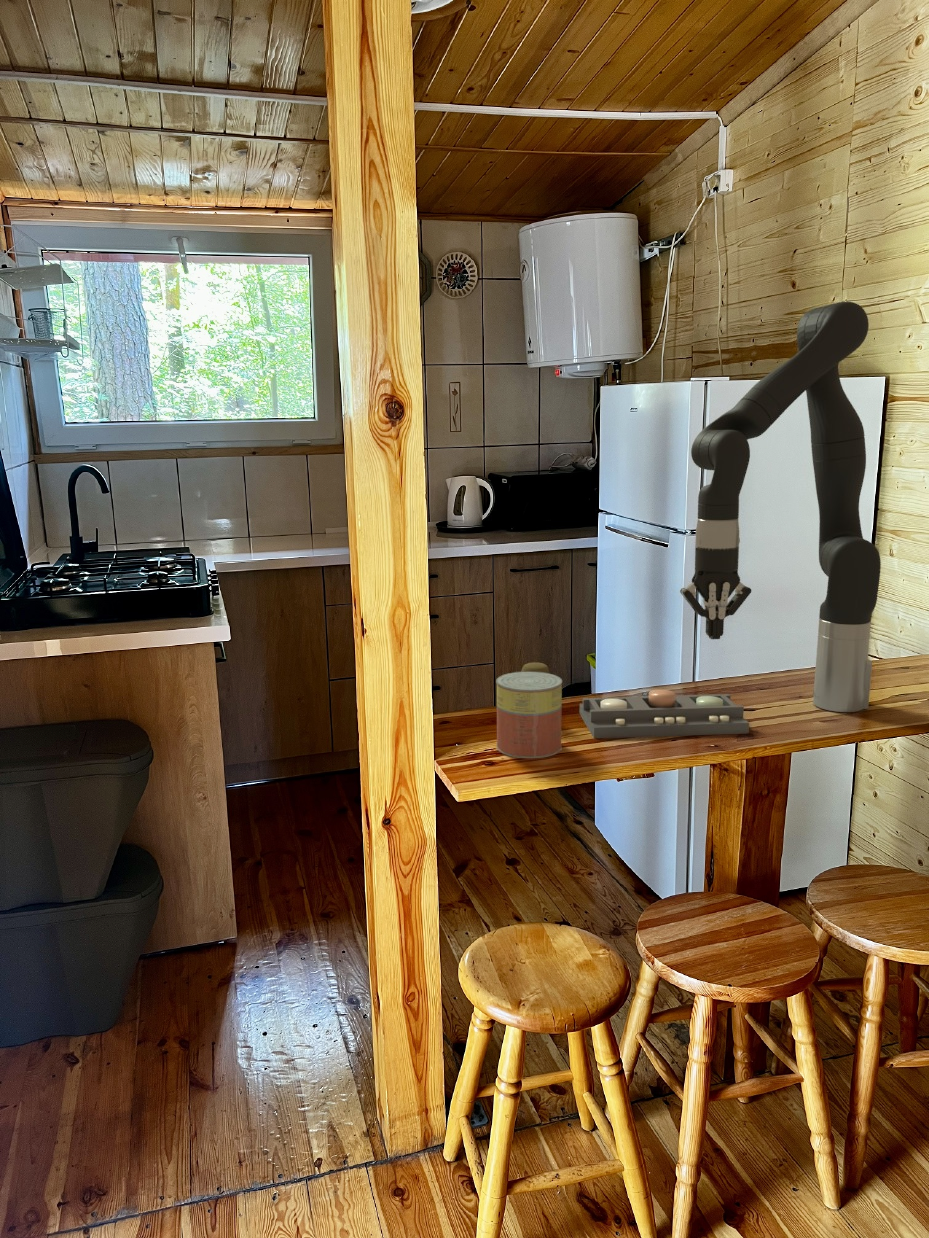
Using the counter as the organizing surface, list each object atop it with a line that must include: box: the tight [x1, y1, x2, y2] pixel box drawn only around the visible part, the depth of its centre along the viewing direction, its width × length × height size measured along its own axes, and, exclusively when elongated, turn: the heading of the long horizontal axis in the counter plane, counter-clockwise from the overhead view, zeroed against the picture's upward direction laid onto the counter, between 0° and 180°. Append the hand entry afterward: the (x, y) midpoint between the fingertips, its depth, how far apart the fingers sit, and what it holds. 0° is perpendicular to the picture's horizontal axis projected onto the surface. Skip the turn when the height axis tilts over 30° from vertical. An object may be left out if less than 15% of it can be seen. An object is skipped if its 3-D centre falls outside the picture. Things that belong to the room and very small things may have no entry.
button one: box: [600, 699, 627, 710], centre depth 171 cm, size 5×5×2 cm
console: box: [579, 693, 750, 739], centre depth 171 cm, size 28×14×4 cm, turn 94°
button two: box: [696, 696, 723, 707], centre depth 172 cm, size 5×5×2 cm
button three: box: [648, 688, 676, 708], centre depth 171 cm, size 5×5×2 cm
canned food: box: [495, 671, 563, 759], centre depth 159 cm, size 11×11×12 cm
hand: (714, 638), depth 169 cm, fingers closed
